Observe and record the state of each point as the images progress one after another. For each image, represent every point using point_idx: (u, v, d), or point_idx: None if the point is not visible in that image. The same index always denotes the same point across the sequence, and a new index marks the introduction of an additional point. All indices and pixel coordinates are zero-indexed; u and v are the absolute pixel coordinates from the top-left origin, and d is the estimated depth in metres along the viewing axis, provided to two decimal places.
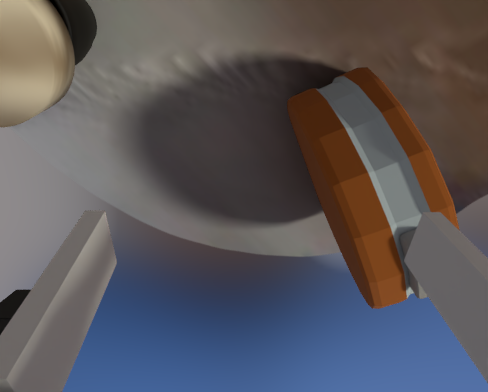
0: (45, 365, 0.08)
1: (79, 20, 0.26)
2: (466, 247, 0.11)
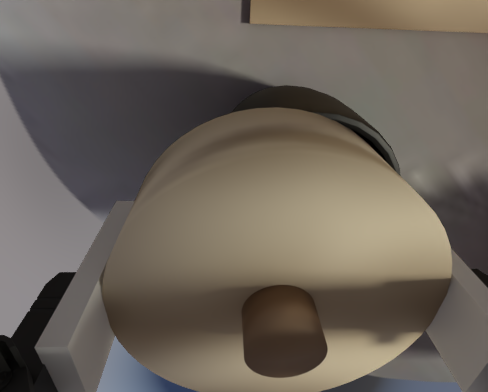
0: (93, 339, 0.09)
1: None
2: None
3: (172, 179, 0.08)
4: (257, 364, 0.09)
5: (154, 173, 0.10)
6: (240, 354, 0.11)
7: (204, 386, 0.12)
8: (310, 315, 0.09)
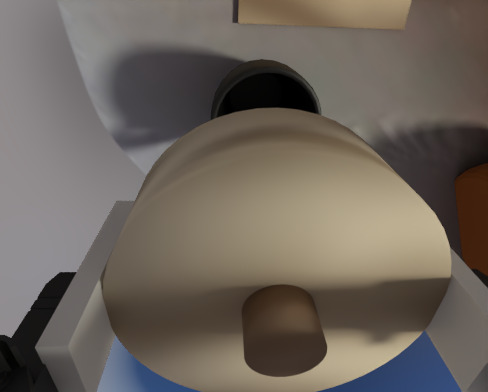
0: (93, 339, 0.09)
1: None
2: None
3: (173, 179, 0.08)
4: (257, 364, 0.09)
5: (154, 173, 0.10)
6: (240, 353, 0.12)
7: (204, 386, 0.13)
8: (310, 314, 0.09)
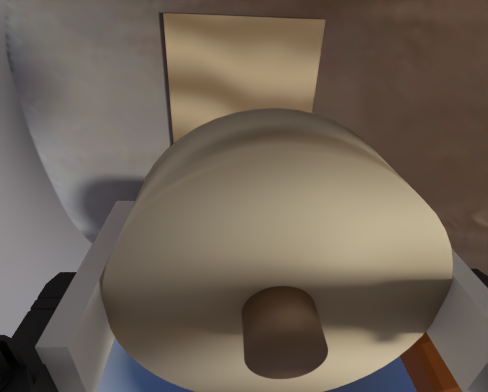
0: (93, 339, 0.09)
1: None
2: None
3: (172, 180, 0.08)
4: (257, 366, 0.09)
5: (154, 174, 0.10)
6: (240, 355, 0.11)
7: (204, 388, 0.12)
8: (310, 316, 0.09)
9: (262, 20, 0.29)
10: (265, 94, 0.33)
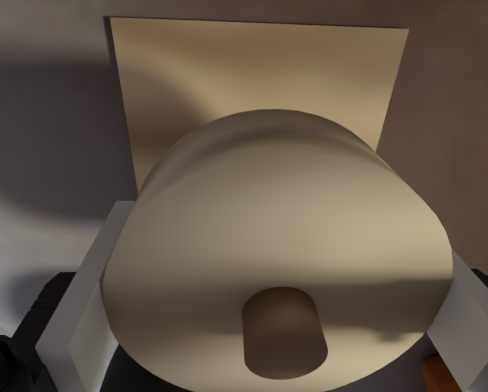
0: (93, 339, 0.09)
1: None
2: None
3: (172, 181, 0.08)
4: (257, 367, 0.09)
5: (154, 175, 0.10)
6: (240, 355, 0.11)
7: (204, 388, 0.12)
8: (310, 317, 0.09)
9: (294, 30, 0.16)
10: None
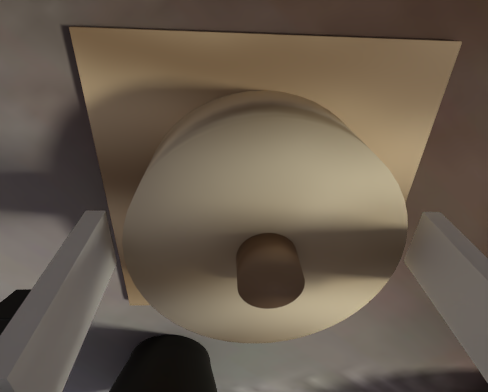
0: (45, 365, 0.08)
1: None
2: (466, 247, 0.11)
3: (181, 142, 0.10)
4: (248, 295, 0.11)
5: (164, 143, 0.12)
6: (235, 298, 0.14)
7: (205, 330, 0.15)
8: (291, 254, 0.11)
9: (313, 43, 0.12)
10: None
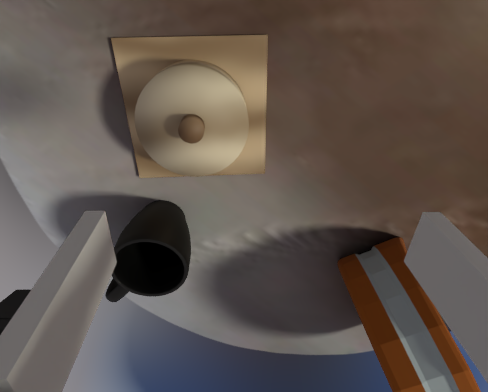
0: (45, 365, 0.08)
1: (188, 252, 0.35)
2: (466, 247, 0.11)
3: None
4: (183, 136, 0.30)
5: None
6: (183, 148, 0.32)
7: (172, 168, 0.33)
8: (198, 119, 0.30)
9: (206, 39, 0.31)
10: None
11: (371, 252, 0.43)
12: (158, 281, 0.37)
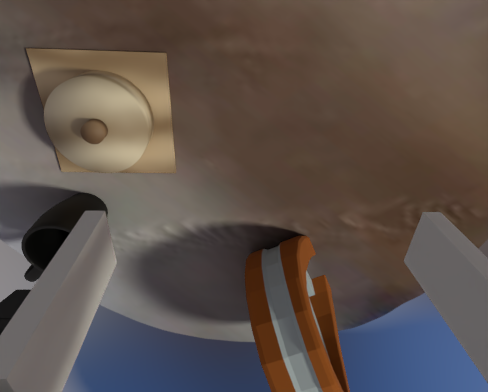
0: (45, 365, 0.08)
1: None
2: (466, 247, 0.11)
3: (59, 85, 0.33)
4: (85, 137, 0.34)
5: None
6: (90, 148, 0.37)
7: (82, 164, 0.38)
8: (99, 123, 0.34)
9: (111, 53, 0.35)
10: None
11: (276, 247, 0.48)
12: None
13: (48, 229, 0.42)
